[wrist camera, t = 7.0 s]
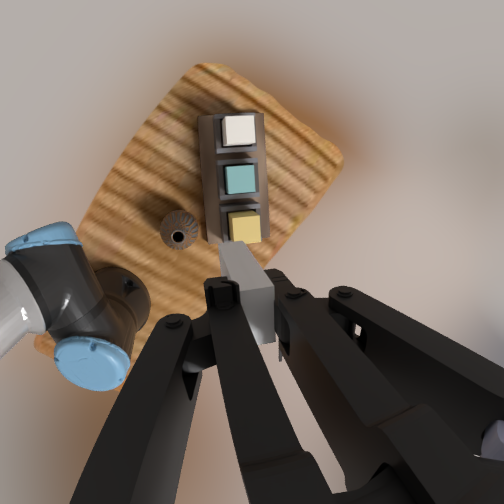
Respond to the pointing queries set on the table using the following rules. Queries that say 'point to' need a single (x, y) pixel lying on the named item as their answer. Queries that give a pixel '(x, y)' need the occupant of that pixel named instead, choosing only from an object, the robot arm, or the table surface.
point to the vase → (179, 229)
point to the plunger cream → (238, 130)
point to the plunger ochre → (244, 226)
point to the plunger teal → (239, 179)
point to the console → (213, 176)
